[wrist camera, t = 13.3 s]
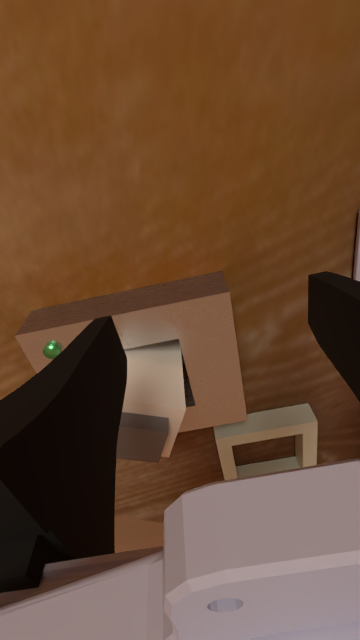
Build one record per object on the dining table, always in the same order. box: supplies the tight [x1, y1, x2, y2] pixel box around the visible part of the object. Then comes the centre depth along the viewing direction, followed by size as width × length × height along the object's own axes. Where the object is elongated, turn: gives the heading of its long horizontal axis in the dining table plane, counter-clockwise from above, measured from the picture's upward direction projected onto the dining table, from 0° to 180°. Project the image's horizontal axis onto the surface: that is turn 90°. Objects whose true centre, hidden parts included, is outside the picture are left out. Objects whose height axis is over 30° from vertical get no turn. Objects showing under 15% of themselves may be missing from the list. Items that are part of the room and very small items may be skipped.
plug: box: [116, 339, 186, 463], centre depth 21 cm, size 4×4×8 cm
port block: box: [15, 271, 247, 433], centre depth 23 cm, size 13×11×3 cm
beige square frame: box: [213, 403, 318, 480], centre depth 29 cm, size 8×8×2 cm
